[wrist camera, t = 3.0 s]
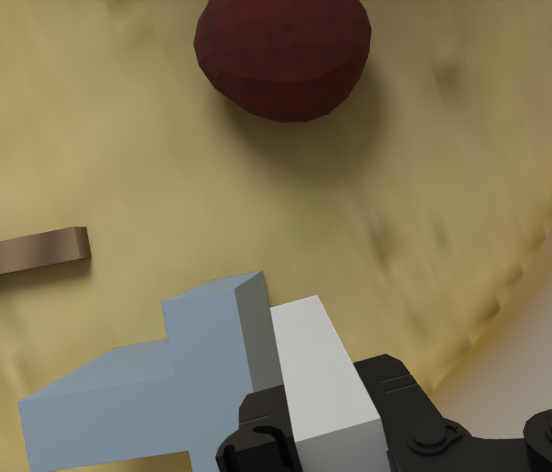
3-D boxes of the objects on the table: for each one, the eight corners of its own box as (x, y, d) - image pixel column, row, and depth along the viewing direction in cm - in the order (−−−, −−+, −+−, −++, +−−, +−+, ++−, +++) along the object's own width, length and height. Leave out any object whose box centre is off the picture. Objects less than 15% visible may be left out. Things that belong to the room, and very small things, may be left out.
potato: (391, 82, 35) (413, 36, 27) (271, 168, 36) (257, 149, 28) (304, -37, 36) (300, -119, 28) (188, 50, 37) (150, -3, 29)
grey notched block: (262, 270, 36) (234, 288, 24) (290, 422, 36) (276, 515, 24) (105, 299, 38) (4, 330, 26) (132, 446, 37) (43, 546, 25)
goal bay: (85, 226, 38) (74, 226, 36) (139, 520, 37) (130, 535, 36) (-104, 264, 39) (-124, 266, 37) (-54, 546, 39) (-72, 562, 37)
